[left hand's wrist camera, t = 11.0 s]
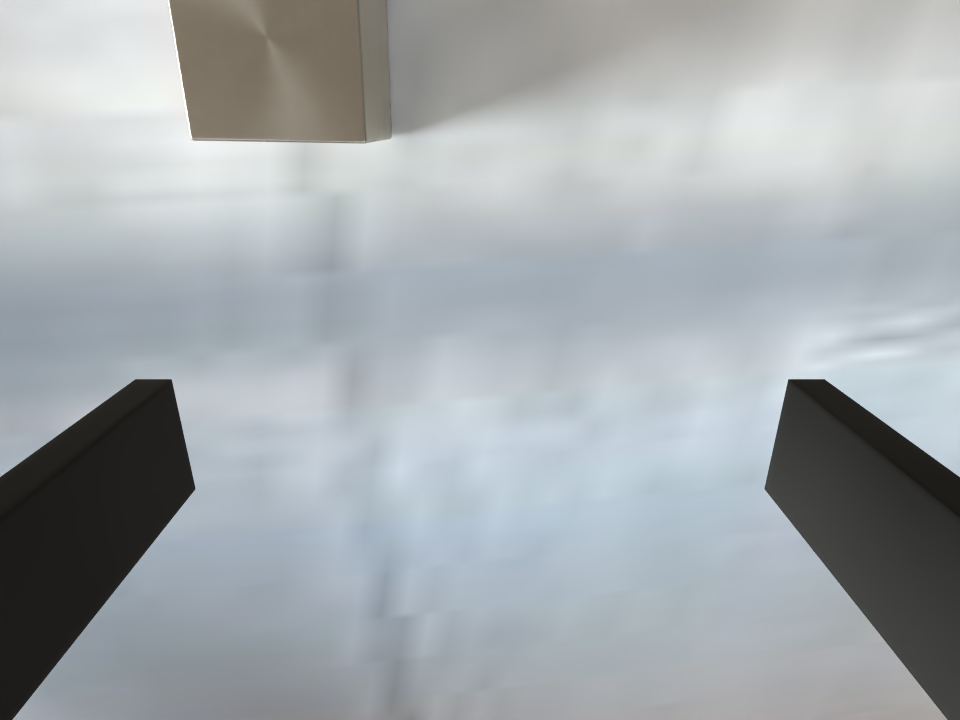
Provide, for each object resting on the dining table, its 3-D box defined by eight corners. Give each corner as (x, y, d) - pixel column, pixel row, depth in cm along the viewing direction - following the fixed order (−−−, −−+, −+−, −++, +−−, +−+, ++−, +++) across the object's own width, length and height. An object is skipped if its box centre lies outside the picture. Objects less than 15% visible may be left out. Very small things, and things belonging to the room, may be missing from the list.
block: (385, -33, 19) (354, -80, 14) (392, 138, 21) (366, 143, 16) (231, -35, 19) (152, -84, 14) (253, 136, 21) (189, 140, 16)
